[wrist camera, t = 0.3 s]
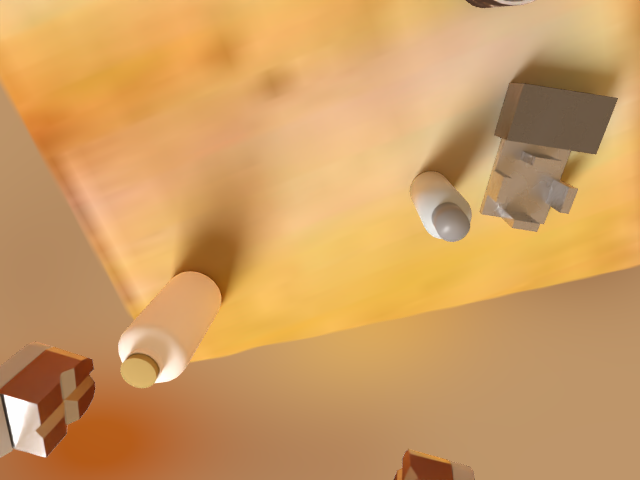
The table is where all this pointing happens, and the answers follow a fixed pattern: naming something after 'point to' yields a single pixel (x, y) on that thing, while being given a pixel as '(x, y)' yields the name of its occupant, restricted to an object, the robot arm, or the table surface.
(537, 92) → the bottle holder
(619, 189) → the table surface
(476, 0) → the coffee mug
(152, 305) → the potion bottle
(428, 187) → the white lotion bottle
